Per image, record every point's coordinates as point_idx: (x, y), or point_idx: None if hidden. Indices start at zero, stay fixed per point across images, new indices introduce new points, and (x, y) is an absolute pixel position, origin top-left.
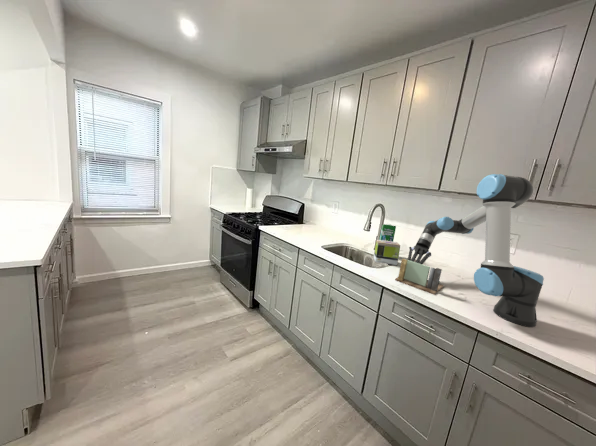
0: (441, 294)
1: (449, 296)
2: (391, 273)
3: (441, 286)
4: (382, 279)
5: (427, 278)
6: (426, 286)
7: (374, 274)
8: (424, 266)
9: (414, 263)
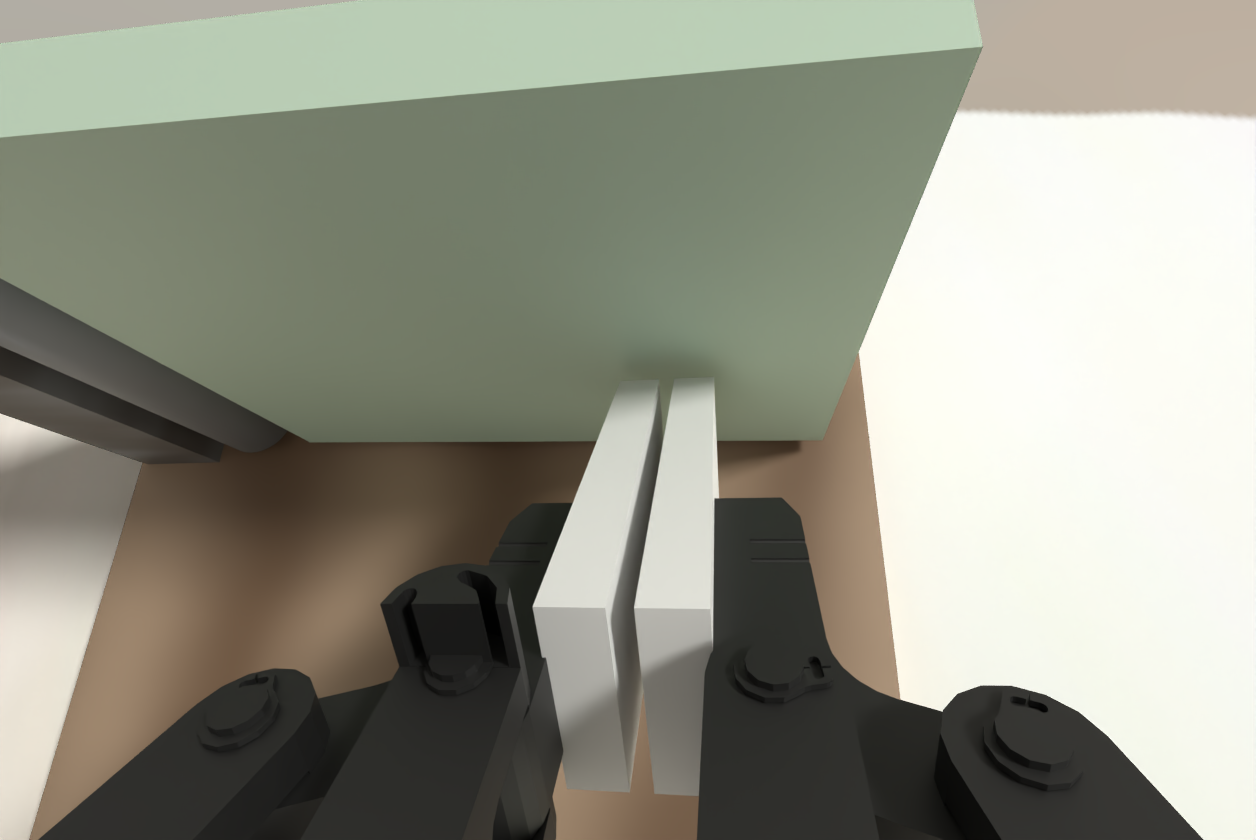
0: (111, 455)
1: (6, 497)
2: (1162, 619)
3: (50, 810)
4: (978, 116)
5: (194, 371)
6: (311, 467)
7: (1241, 173)
8: (7, 62)
9: (389, 30)
